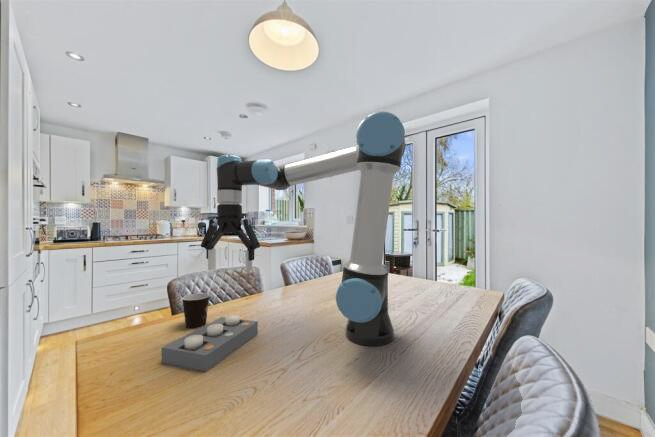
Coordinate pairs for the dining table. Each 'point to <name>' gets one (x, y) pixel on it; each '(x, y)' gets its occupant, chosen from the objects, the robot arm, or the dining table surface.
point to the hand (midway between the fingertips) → (230, 270)
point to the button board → (209, 345)
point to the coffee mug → (195, 310)
